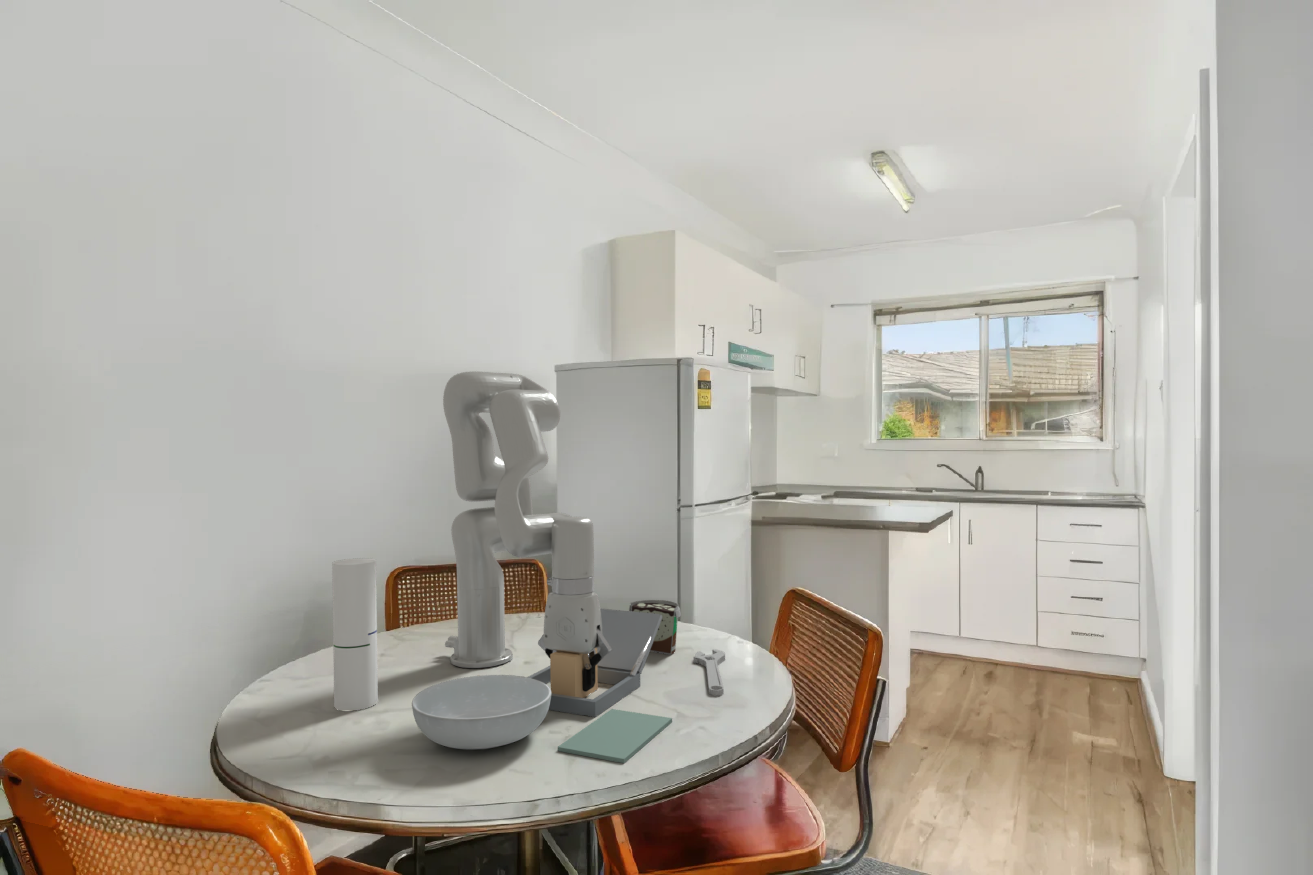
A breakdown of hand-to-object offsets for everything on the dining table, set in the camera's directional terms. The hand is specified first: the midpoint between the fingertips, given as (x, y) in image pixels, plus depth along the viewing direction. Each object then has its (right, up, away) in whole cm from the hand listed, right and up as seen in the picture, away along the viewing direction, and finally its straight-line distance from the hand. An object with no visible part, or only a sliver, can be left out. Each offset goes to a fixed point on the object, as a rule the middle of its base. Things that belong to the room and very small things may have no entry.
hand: (574, 685), depth 137 cm
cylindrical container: (-38, -2, -3) cm, 38 cm away
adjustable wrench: (+25, -2, +11) cm, 27 cm away
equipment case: (+2, -1, +5) cm, 5 cm away
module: (0, -2, 0) cm, 2 cm away
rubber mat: (+9, -1, -19) cm, 21 cm away
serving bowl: (-12, -2, -19) cm, 23 cm away
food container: (+16, -2, +29) cm, 33 cm away
